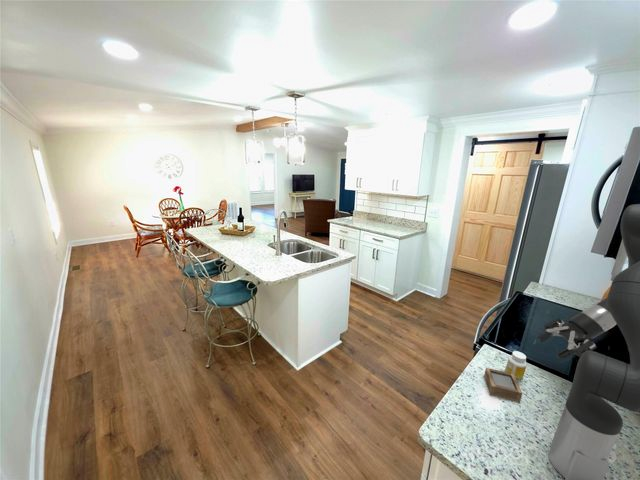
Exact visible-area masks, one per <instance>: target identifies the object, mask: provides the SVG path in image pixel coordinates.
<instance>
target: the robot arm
mask: <svg viewBox="0 0 640 480" xmlns="http://www.w3.org/2000/svg"><path fill="white" fill-rule="evenodd" d="M620 235H621V238H622V242H623V243H622V244H623V246H624V250H625V252H626V256H627V265H628V266H627V268H625V269H623V270H621V271H620V272H619V273H618V274H616V276H615V277H614V278H613V279H612V281H611V284H610V288H609V292H608V294H607V297H606V298H604V299H603V300H600V302H598V303H596V304H594V305H592V306H590V307H588V308H586V309H585V310H583V311H581V312H579V313H578V314H576V315H574V316H573V317H571V318H569V321H568V322H565V321H564V320H562V318H561V317H556V318H555V319H553V320H552V321H549V322H548V323H546V324H544V326H543V327H544V329H545V331H544V332H542V333H540V334H539V335H538V336H537V340H539V341H540V342H541V343H543V342H545V341H547V340H548V339H550V338H552V337H562V338H564V339H565V340H566V341H567V343H568V345H567V348H566V347H565V348H563V349H562V350H559V351H557V352H556V353H555V356H556V357H557V358H558V359H559V360H564V359H567V358H568V357H570V356H572V355H574V356H578V358H579V359H578V361H577V365H576V368H575V373H574V377H573V380H572V384H571V387H570V390H569V393H568V396H567V399H566V401H565V403H564V406H563V410H562V412H561V414H560V417H559V421H558V424H557V427H556V430H555V432H554V435H553V438H552V439H551V443H550V446H549V449H548V451H547V453H548V454H547V456H548V459H549V462H550V463H551V465H552V467H553V468H554V469H555V470H556V472H558V473H559V474H560V475H561V476H562V477H563V478H565V479H564V480H604V479H605V476H606V474H607V471H608V469H609V468H610V465H611V464H610V462H609V460H608V459H609V458H610V455H611V454H612V450H613V448H614V447H615V444H616V442H617V440H618V438H619V435H620V432H621V430H622V429H623V425H624V421H623V418H622V416H621V414H620V413H619V412H618V411H617V409H615V407H613V406H612V405H611V404H610V403H612V404H614V405H617V406H619V407H621V408H623V409H625V410H628V411H630V412H633V413H638V412H640V203H636V204H630V205H628V206H627V207H626V208H625V209H624V211H623V214H622V216H621V220H620ZM616 325H617V327H618V328H619V330H620V332H621V334H622V336H623V337H624V340H625V342H626V343H625V344H626V345H627V348H628V353H629V363H627V362H624V361H621V360H619V359H616V358H613V357H610V356H607V355H605V354H602V353H599V352H597V351H594V350H595V349H597V345H596V344H595V342H593V340H590V339H595V338H596V337H598V336H600V335H601V334H604V333H606V332H608V331H609V330H610V329H612V328H614V327H615V326H616ZM580 344H581V345H580ZM608 402H610V403H608Z"/></svg>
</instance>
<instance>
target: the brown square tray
mask: <svg viewBox="0 0 640 480" xmlns="http://www.w3.org/2000/svg"><path fill="white" fill-rule="evenodd" d="M491 373H496V374H500V375H504V376H509V377H510V378H511V380H512V382H513V385H514V387H515V389H512V388H508V387H504V386H499V385H495V384H494V381H493V378H492V375H491ZM483 378H484V382H485V385H486V387H487V391H488V393H489V396H490V397H494V398H495V397H496V398H499V399H503V400H507V401H509V402H515V403H520V404H521V400H522V396H523V391H522V388H521V387H520V385H519V383H518V382H517V380H516V378H515V376H514V374H512V373H508V372H505V371H504V370H498V369H495V368H494V369H493V368H489V367H485V369H484V374H483Z"/></svg>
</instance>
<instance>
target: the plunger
mask: <svg viewBox="0 0 640 480" xmlns="http://www.w3.org/2000/svg"><path fill="white" fill-rule="evenodd" d="M491 375H492V378H493V381H494V384H495V385H499V386H504V387H508V388H512V389H515V387H514V385H513V382H512V380H511V378H510V377H509V376H504V375H500V374H496V373H491Z"/></svg>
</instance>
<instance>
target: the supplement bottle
mask: <svg viewBox="0 0 640 480" xmlns="http://www.w3.org/2000/svg"><path fill="white" fill-rule="evenodd" d="M527 366H528V363H527V356H526V354H524V353H523V352H520V351H518V350H514V351H512V353H511V355H509V356H508V358H507V362H506V366H505V370H504V372H508V373H512V374H514V376H515V378H516V380H517V382H519V383H521V382H522V381H523V380H524V377H525V373H526V369H527Z"/></svg>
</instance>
